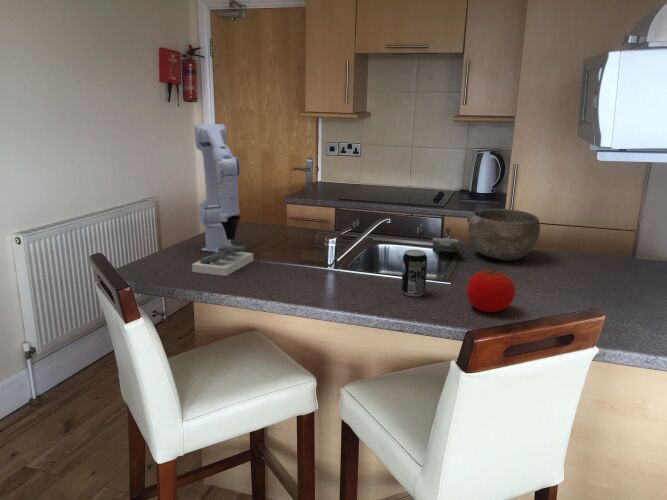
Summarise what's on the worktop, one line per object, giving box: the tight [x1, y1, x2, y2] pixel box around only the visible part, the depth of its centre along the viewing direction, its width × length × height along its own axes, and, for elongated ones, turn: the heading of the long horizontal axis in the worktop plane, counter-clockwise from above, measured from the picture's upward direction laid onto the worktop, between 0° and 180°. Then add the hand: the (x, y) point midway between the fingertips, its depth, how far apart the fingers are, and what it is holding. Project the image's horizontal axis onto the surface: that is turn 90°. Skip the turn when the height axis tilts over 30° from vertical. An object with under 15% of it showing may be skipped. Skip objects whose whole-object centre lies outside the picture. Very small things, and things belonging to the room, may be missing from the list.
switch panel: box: [191, 251, 254, 277], centre depth 178 cm, size 18×12×3 cm, turn 161°
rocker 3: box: [218, 245, 246, 252], centre depth 182 cm, size 4×8×1 cm, turn 71°
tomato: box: [465, 270, 516, 313], centre depth 142 cm, size 11×12×10 cm
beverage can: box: [401, 249, 428, 298], centre depth 153 cm, size 7×7×12 cm
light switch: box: [432, 237, 460, 258], centre depth 191 cm, size 8×6×14 cm
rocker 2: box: [208, 248, 236, 256], centre depth 177 cm, size 4×8×1 cm, turn 71°
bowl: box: [466, 208, 541, 262], centre depth 190 cm, size 24×24×15 cm
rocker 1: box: [199, 252, 228, 263], centre depth 172 cm, size 4×8×1 cm, turn 71°
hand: (231, 239), depth 175 cm, fingers closed
